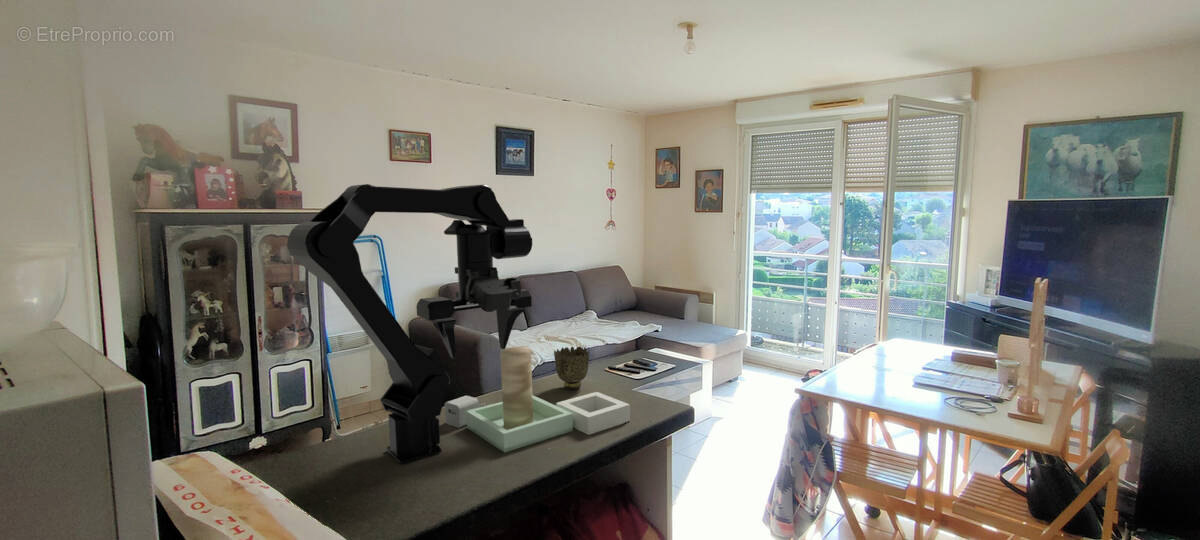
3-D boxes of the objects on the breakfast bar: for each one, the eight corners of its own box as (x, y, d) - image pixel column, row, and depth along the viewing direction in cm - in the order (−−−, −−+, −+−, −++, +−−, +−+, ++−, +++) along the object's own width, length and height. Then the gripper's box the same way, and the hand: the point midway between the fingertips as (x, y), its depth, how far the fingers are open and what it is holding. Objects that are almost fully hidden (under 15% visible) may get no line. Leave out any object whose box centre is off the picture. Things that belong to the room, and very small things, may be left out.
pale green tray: (504, 452, 85) (504, 433, 85) (466, 427, 95) (466, 410, 95) (572, 430, 94) (572, 413, 93) (531, 410, 104) (531, 394, 103)
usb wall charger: (445, 423, 98) (444, 401, 97) (475, 411, 103) (475, 391, 103) (460, 428, 95) (459, 406, 95) (490, 416, 101) (489, 395, 100)
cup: (549, 385, 118) (548, 348, 117) (581, 380, 121) (581, 344, 120) (562, 395, 111) (561, 356, 111) (595, 390, 114) (595, 352, 114)
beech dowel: (513, 433, 91) (510, 355, 90) (498, 425, 95) (495, 350, 93) (539, 425, 94) (536, 350, 93) (523, 418, 98) (520, 345, 97)
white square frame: (588, 434, 92) (588, 417, 91) (556, 419, 99) (556, 402, 98) (629, 421, 97) (629, 404, 97) (597, 407, 105) (596, 391, 104)
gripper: (441, 269, 80) (446, 374, 82) (549, 260, 92) (551, 352, 94) (413, 264, 89) (417, 359, 91) (514, 256, 101) (517, 341, 102)
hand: (478, 353), depth 94 cm, fingers open, 9 cm apart
